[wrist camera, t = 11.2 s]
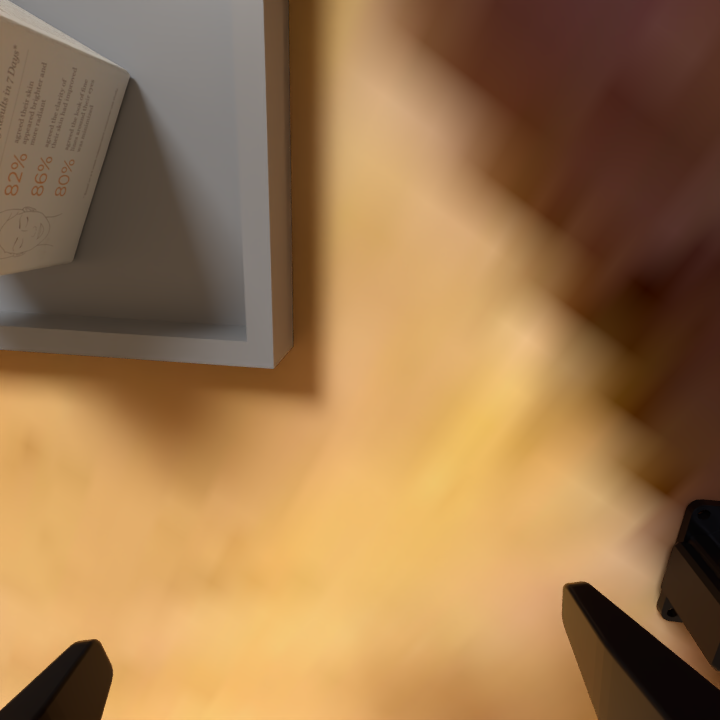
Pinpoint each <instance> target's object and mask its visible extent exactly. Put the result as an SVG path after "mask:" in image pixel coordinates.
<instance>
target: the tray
mask: <svg viewBox="0 0 720 720" xmlns="http://www.w3.org/2000/svg"><path fill="white" fill-rule="evenodd" d="M9 1H10V2H12V3H14V4H15V5H17V6H19V7H21V8H22V9H24V10H26V11H27V12H29V13H31V14H32V15H34V16H36V17H37V18H39V19H41V20H42V21H44V22H46V23H47V24H49V25H51V26H53V27H54V28H56V29H58V30H59V31H61V32H63V33H64V34H66V35H68V36H70V37H71V38H73V39H75V40H76V41H78V42H80V43H81V44H83V45H85V46H86V47H88V48H90V49H91V50H93V51H95V52H96V53H98V54H100V55H101V56H103V57H105V58H106V59H108V60H110V61H111V62H113V63H115V64H117V65H118V66H120V67H122V68H124V69H125V70H127V71H128V73H129V74H130V78H129V81H128V84H127V87H126V90H125V94H124V97H123V100H122V103H121V106H120V110H119V113H118V116H117V119H116V123H115V126H114V129H113V133H112V136H111V139H110V142H109V146H108V149H107V152H106V156H105V159H104V162H103V165H102V168H101V171H100V174H99V178H98V181H97V184H96V187H95V191H94V194H93V197H92V201H91V204H90V207H89V210H88V213H87V216H86V220H85V223H84V226H83V229H82V232H81V236H80V239H79V242H78V245H77V249H76V252H75V256H74V259H73V261H72V262H71V263H67V264H61V265H55V266H50V267H45V268H39V269H33V270H29V271H23V272H17V273H12V274H7V275H1V276H0V350H13V351H27V352H42V353H56V354H70V355H84V356H99V357H113V358H127V359H141V360H156V361H170V362H184V363H198V364H213V365H227V366H241V367H256V368H270V369H274V368H275V367H276V366H277V364H278V363H279V362H280V361H281V360H282V359H283V357H284V356H285V355H286V354H287V353H288V352H289V351H290V349H291V348H292V347H293V287H292V215H291V143H290V71H289V0H9Z"/></svg>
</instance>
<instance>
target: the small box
mask: <svg viewBox="0 0 720 720" xmlns="http://www.w3.org/2000/svg"><path fill="white" fill-rule="evenodd" d="M129 78H130V74H129V73H128V71H127V70H125V69H124V68H122V67H120V66H118V65H117V64H115V63H113V62H111V61H110V60H108V59H106V58H105V57H103V56H101V55H100V54H98V53H96V52H95V51H93V50H91V49H90V48H88V47H86V46H85V45H83V44H81V43H80V42H78V41H76V40H75V39H73V38H71V37H70V36H68V35H66V34H64V33H63V32H61V31H59V30H58V29H56V28H54V27H53V26H51V25H49V24H47V23H46V22H44V21H42V20H41V19H39V18H37V17H36V16H34V15H32V14H31V13H29V12H27V11H26V10H24V9H22V8H21V7H19V6H17V5H15V4H14V3H12V2H10V1H9V0H0V276H1V275H7V274H12V273H17V272H23V271H29V270H33V269H39V268H45V267H50V266H55V265H61V264H67V263H71V262H72V261H73V259H74V256H75V252H76V249H77V245H78V242H79V239H80V236H81V232H82V229H83V226H84V223H85V220H86V216H87V213H88V210H89V207H90V204H91V201H92V197H93V194H94V191H95V187H96V184H97V181H98V178H99V174H100V171H101V168H102V165H103V162H104V159H105V156H106V152H107V149H108V146H109V142H110V139H111V136H112V133H113V129H114V126H115V123H116V119H117V116H118V113H119V110H120V106H121V103H122V100H123V97H124V94H125V90H126V87H127V84H128V81H129Z"/></svg>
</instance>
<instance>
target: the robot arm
mask: <svg viewBox="0 0 720 720" xmlns="http://www.w3.org/2000/svg"><path fill="white" fill-rule="evenodd" d="M702 510H705V511H704V512H703V513H701V514H698V513H699V512H700V511H702ZM661 588H662V591H661V594H660V597H659V601H658V604H657V609H658V610H659V612H660V614H661V615H662V617H663V618H664V619H665V620H668V621H675V622H683V623H684V625H685V626H686V628H687V629H688V631H689V632H690V634H691V635H692V637H693V639H694V640H695V642H696V643H697V645H698V646H699V648H700V649H701V651H702V653H703V654H704V656H705V657H706V659H707V660H708V662H709V663H710V664H711V666H712V667H713V668H714V669H715V670H716V671H720V501H713V500H695V501H693V502H691V503H690V504H689V505H688V507H687V509H686V512H685V516H684V519H683V522H682V525H681V529H680V532H679V535H678V538H677V542H676V544H675V545H674V547H673V550H672V553H671V556H670V560H669V563H668V566H667V569H666V573H665V576H664V579H663V583H662V586H661ZM669 609H671V610H669ZM562 619H563V624H564V627H565V630H566V633H567V636H568V638H569V641H570V644H571V647H572V649H573V652H574V655H575V658H576V660H577V663H578V666H579V668H580V671H581V674H582V677H583V679H584V682H585V685H586V688H587V690H588V693H589V696H590V699H591V701H592V704H593V707H594V709H595V712H596V714H597V717H598V720H720V690H719V689H718V688H716V687H715V686H714V685H713V684H711V683H710V682H709V681H708V680H707V679H705V678H704V677H703V676H702V675H700V674H699V673H698V672H697V671H696V670H694V669H693V668H692V667H691V666H689V665H688V664H687V663H686V662H685V661H683V660H682V659H681V658H680V657H678V656H677V655H676V654H675V653H674V652H672V651H671V650H670V649H669V648H667V647H666V646H665V645H664V644H662V643H661V642H660V641H659V640H658V639H656V638H655V637H654V636H653V635H651V634H650V633H649V632H648V631H647V630H645V629H644V628H643V627H642V626H640V625H639V624H638V623H637V622H636V621H634V620H633V619H632V618H631V617H629V616H628V615H627V614H626V613H624V612H623V611H622V610H621V609H620V608H618V607H617V606H616V605H615V604H613V603H612V602H611V601H610V600H609V599H607V598H606V597H605V596H604V595H602V594H601V593H600V592H599V591H598V590H596V589H595V588H594V587H593V586H591V585H590V584H589V583H587V582H574V583H567V584H565V585H564V587H563V600H562ZM112 677H113V669H112V665H111V663H110V661H109V659H108V657H107V654H106V652H105V650H104V648H103V646H102V644H101V643H100V641H98V640H97V639H91V640H83V641H78V642H75V643H74V644H72V645H71V646H70V647H69V648H67V649H66V650H65V651H64V652H63V653H62V654H61V655H60V656H59V657H58V658H57V659H56V660H54V661H53V662H52V663H51V664H50V665H49V666H48V667H47V668H46V669H45V670H44V671H43V672H41V673H40V674H39V675H38V676H37V677H36V678H35V679H34V680H33V681H32V682H31V683H30V684H28V685H27V686H26V687H25V688H24V689H23V690H22V691H21V692H20V693H19V694H18V695H17V696H15V697H14V698H13V699H12V700H11V701H10V702H9V703H8V704H7V705H6V706H5V707H4V708H2V709H1V710H0V720H101V718H102V714H103V711H104V707H105V704H106V700H107V697H108V693H109V690H110V686H111V683H112Z"/></svg>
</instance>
